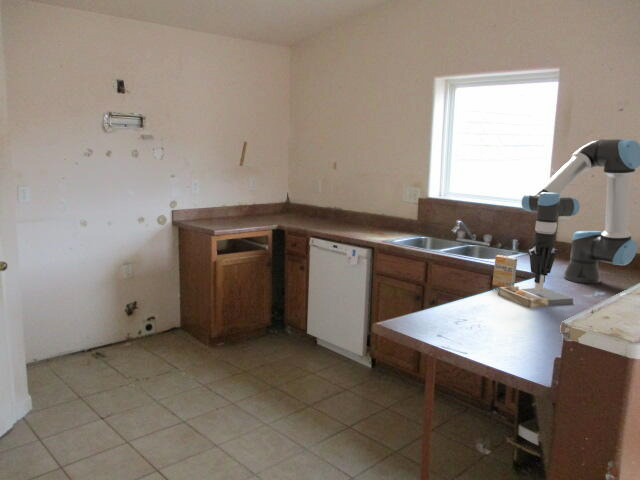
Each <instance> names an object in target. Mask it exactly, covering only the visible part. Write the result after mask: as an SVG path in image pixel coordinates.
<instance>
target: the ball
mask: <svg viewBox="0 0 640 480" xmlns="http://www.w3.org/2000/svg"><path fill="white" fill-rule="evenodd" d="M515 293H516V294H519V295H521V296H524V297H525V293H524V292H523V291H521V290H519V291H516V292H515Z"/></svg>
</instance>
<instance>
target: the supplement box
mask: <svg viewBox="0 0 640 480" xmlns="http://www.w3.org/2000/svg"><path fill="white" fill-rule="evenodd" d="M494 259H495V260H494V266H493V267H494V269H493V275H492V276H493V277H492V286H495V287H512V286H515V281H516V275H517V274H516V272H517V266H518V265H517V264H518V257H513V256H507V255H501V254H497V255H495V258H494Z"/></svg>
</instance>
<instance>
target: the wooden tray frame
mask: <svg viewBox="0 0 640 480" xmlns="http://www.w3.org/2000/svg"><path fill="white" fill-rule="evenodd" d="M518 289H520V288H519V286H518V285H517V286H516V285H514V286H512V287H500V286H498V290H497V291H498V292H497V295H499V296H501V297H503V298H506V299H508V300H510V301H512V302H515V303H516V304H519V305H522V306H524V307H527V308H539V307H548V306H549V305H548V299H549V298H536V299H529V298H527V297H524V296H521V295H519V294H516V293H515V292H516V291H518Z"/></svg>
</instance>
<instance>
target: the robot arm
mask: <svg viewBox="0 0 640 480" xmlns="http://www.w3.org/2000/svg"><path fill="white" fill-rule="evenodd" d="M596 167H600V168H601V167H602V168H603V173H604V174H605V175H606V176H607V177H606V178H607V179H606V181H607V182H606V200H605V201H606V203H605V220H604V221H605V222H604V223H605V224H604V227H605V228H604V230H603V231H600V230H579V231H575V232H574V233H573V235H572V240H571V250H570V257H569V263H568V265H567V267H566V269H565V271H564V273H563V278H564V279H565V280H567V281H570V282H574V283H575V282H576V283H580V284H599V283H600V282H601V276H600V271H599V266H598V265H599V262H602V263H605V264H606V263H607V264H610V265H611V264H612V265H615V266H617V265H618V266H626V265H628V264H629V265H630V263H631V262H632V261H633V259H634V258H635V256H636V254H637V249H638V244H637V242H636V241H635V240H634V239H632V233H631V232H630V231H628V226H629V210H630V196H631V195H630V193H631V192H630V191H631V178H632V177H631V176H632V175H633V174H635V172H636V169H637V168H639V167H640V144H639V142H638V141H637V140H635V139H627V138H626V139H625V138H623V139H620V138H619V139H618V138H615V139H604V138H602V139H595V140H592V141H591V142H588V143H587V144H585V145H583V146H581V147H580V148H578V149H577V150H576V151H574V153H573V154H571V156H570V159H569V161H567V162H566V163H565V164H564V165H563V166H562V167H560V169H559V170H558V171H556V172H555V173H554V174H553V175H552V176H551V177H550V178H549V179H548V180H546V181H545V183H543V185H542V186H540V187H539V188H538V190H536V191H535V192H534V193H532V192H531V193H526V194H524V195H523V197H522V198H521V207H522V209H523V210H524V211H526V212H531V213H536V221H535V229H534V231H535V232H534V235H533V236H534V237H533V241H534V244H533V247H532V248H531V249H528V250H527V253H528V255H529V263H530V272H531V273H532V274H534V283H535V285H534V288H535V290H536V291H539V292H542V291H543V288H544V283H545V281H546V276H548V275H549V274H551V271H552V268H553V266H554V261H555V259H556V256H557V255H558V253H559V249H556V248H555V247H554V243H555V241H556V232H557V225H558V217H573V216H575V215H577V214H578V212H580V206H581V205H580V202H579V200H578V199H577V198H576V197H570V196H567V197H565V196H564V197H563V196H561V194H562V193H563V192H564V191H565V190H566V189H567V188H568V187H569V186H570V185H571V184H572V183H574V181H576V180H577V179H578V178H579V176H581V175H582V174H583V173H584V172H588V171H590V170H591V169H592V168H596Z"/></svg>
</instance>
